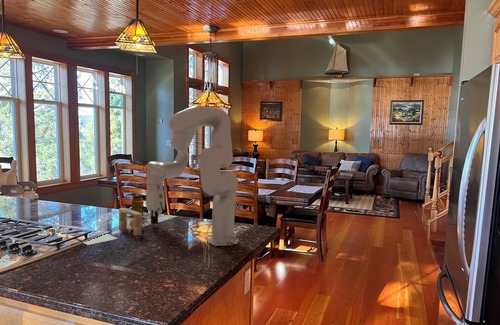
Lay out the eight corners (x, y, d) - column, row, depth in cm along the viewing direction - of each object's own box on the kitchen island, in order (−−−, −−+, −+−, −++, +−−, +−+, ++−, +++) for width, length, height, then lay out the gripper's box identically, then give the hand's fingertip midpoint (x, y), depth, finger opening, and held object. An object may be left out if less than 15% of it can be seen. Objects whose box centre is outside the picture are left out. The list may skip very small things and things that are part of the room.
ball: (130, 224, 164) (136, 234, 166) (140, 216, 166) (147, 225, 169) (125, 220, 168) (131, 230, 171) (136, 212, 171) (142, 222, 174)
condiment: (146, 217, 192) (146, 195, 191) (131, 219, 186) (131, 197, 185) (139, 214, 197) (140, 193, 196) (125, 216, 191) (125, 194, 190)
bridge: (124, 227, 171) (124, 207, 170) (141, 234, 161) (142, 213, 160) (118, 228, 169) (119, 208, 168) (135, 235, 159) (136, 214, 158)
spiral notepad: (117, 238, 154) (117, 238, 154) (87, 245, 144) (87, 244, 144) (103, 232, 162) (103, 231, 162) (74, 237, 153) (74, 237, 153)
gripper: (170, 188, 171) (169, 225, 173) (153, 184, 181) (152, 219, 183) (157, 189, 165) (156, 228, 167) (139, 185, 175) (139, 221, 177)
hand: (154, 223), depth 175 cm, fingers closed
